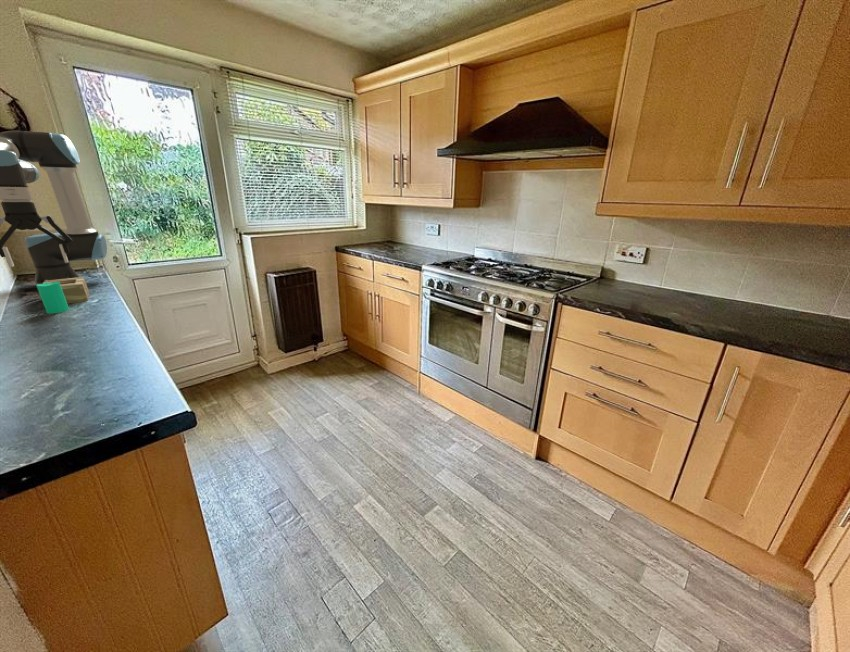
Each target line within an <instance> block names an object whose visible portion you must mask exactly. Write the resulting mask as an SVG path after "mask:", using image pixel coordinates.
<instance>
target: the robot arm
mask: <svg viewBox="0 0 850 652" xmlns="http://www.w3.org/2000/svg"><path fill="white" fill-rule="evenodd" d="M80 160H81V159H80V156H79V153H78V151H77V149H76V148H75V145H74V144H73V141H72V140H71V139H69V137H68V136H67V135H65V134H62V133H56V132H47V131H46V132H44V131H43V132H42V131H28V130H25V131H24V130H8V131H2V132H0V201H1V202H0V205H1V208H2V210H3V213H4V215H5V216H4V217H3V216H1V217H0V225H1V224H3V223H4V222H6V223H7V224H9V225H10V227H9V228H8V229H7V231H6V232H4V235H3V236H1V238H0V257H1V258H5V259H6V262H7V264H8V266H9V268H13V267H15V263H14V260H13V258H12V256H11V254H10V251H9V248H8V246H4V245H5V244H6V243H7V241H9V239H10V238H11V237H12V235H14V233H15V232H16V230H19V231H25V230H29V231H33V230H36V229H37V230H39V231H40V232H43V233H42V234H36V235H31V236H29V235H28V236H26V237H25V239H24V241H25V245H26V249H27V251H28V254H29V256H30V259H31V261H32V263H33V266H34V268H35V274H34V275H35V277H34V284H35V286H36V285H37V284H43V282H44V281H47V280H57V279H68V278H78V277H80V275H78V273H77V272H76V271H75V270H74V269H73V267H72V266H71V263H70V262H75V261H76V262H77V261H78V262H79V261H80V262H81V261H98V260H103V259H105V258H106V256H107V254H108V253H107V252H108V248H107V247H108V246H107V240H106V238H105V236H104V234H100V233H99V232H98V230H97V229H96V228H94V227H93V226H92V223H91V220H90V218H89V217H90V216H89V215H88V211H87V208H86V205H85V202H84V198H83V197H82V193H81V190H80V187H79V184H78V180H77V178H76V174H75V171H77V169H78V167H77V165H79V164H80V163H81V161H80ZM32 163H38V165H39V168H41V169H42V170H44V171H45V172H46V173H47V174H46V175H47V177H48V179H49V182H50V184H51V187H52V191H53V192H54V196H55V199H56V201H57V202H56V203H57V204H58V208H59V210H60V213H61V216H62V219H63V222H64V224H65V227H66V229H65V230H64V229H62V228H61V227H60V226H59V225H58V224H57V223H56V222H55V220H54V219H53V216H51V215H47V216H46V215H45V216H40V215H39V213H38V211H37V208H36V206H35V203H34V202H33V201H32V200H33V197H32V194H31V191H30V189H29V186H28V184H32V183H35V182H36V181H38V180H39V178H40V172H39V170H38V169H37V167H36V165H34V164H32ZM42 221H43V222H45V223H48V224H49V225H50V226H51V227H52V228H53V229H54V230H55V231H56V232H52V231H51V230H49V229H48V228H46V227H44V226H43V225H42V224H41V223H42Z"/></svg>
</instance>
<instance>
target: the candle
mask: <svg viewBox="0 0 850 652" xmlns="http://www.w3.org/2000/svg"><path fill="white" fill-rule="evenodd" d="M35 286H36V289H37V291H38V294H39V296H40V299H41V301H42V304H43V307H44V309H45V312H46V314H59V313H64V312H67V311H70V307H69V303H68V304H67V302H66V299H65V296H64V293H63V291H62V288H61V285H60V282H54V283H48V281H47V283H43V284H37V285H36V284H35Z"/></svg>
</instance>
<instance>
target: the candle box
mask: <svg viewBox="0 0 850 652" xmlns="http://www.w3.org/2000/svg"><path fill="white" fill-rule="evenodd" d="M47 281H48V283H54V282H60V285H61V288H62V291H63V293H64V296H65V299H66V302H67V304H68V305H69V304H75V303H82V302H88V301H89V297H90V291H89V288H88V286H87V285H88V284H87V281H86V279H85V277H84V276H81V277H80V276H79V277H78V278H68V279H57V280H47ZM47 281H44V282H43V283H47Z"/></svg>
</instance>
